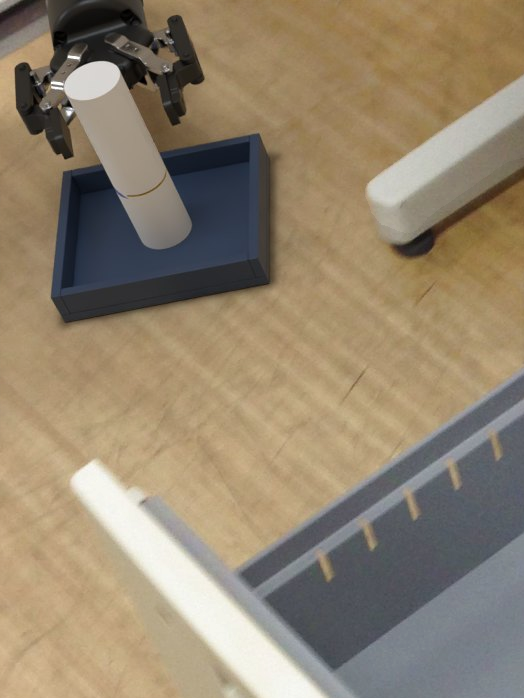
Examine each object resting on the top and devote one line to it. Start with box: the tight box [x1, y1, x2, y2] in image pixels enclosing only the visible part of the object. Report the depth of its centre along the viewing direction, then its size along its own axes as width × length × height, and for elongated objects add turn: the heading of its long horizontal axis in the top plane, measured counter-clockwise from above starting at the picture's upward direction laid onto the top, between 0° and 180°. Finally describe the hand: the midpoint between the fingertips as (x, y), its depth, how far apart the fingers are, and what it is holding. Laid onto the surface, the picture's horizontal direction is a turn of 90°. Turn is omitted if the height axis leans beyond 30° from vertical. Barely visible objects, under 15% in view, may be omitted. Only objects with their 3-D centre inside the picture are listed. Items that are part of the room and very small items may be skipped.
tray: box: [50, 132, 271, 323], centre depth 144 cm, size 17×15×3 cm
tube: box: [64, 61, 192, 249], centre depth 139 cm, size 4×4×15 cm
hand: (118, 132), depth 137 cm, fingers open, 8 cm apart
